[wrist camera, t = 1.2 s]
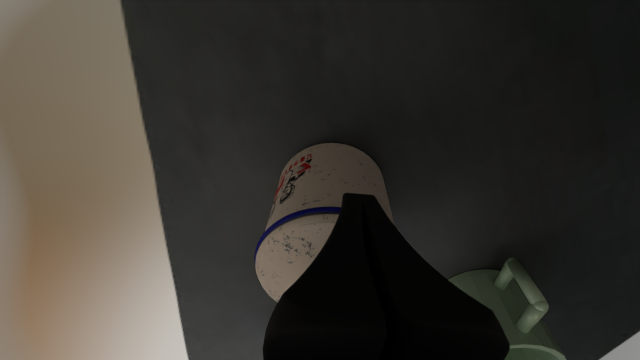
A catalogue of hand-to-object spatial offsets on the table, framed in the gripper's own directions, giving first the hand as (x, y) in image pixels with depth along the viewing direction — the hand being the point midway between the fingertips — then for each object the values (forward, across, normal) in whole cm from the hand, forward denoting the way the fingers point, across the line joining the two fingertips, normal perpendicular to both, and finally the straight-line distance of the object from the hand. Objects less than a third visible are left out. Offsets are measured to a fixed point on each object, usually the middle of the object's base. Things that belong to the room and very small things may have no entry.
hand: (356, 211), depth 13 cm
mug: (+10, -16, +17) cm, 26 cm away
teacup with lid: (+11, +1, +7) cm, 13 cm away
